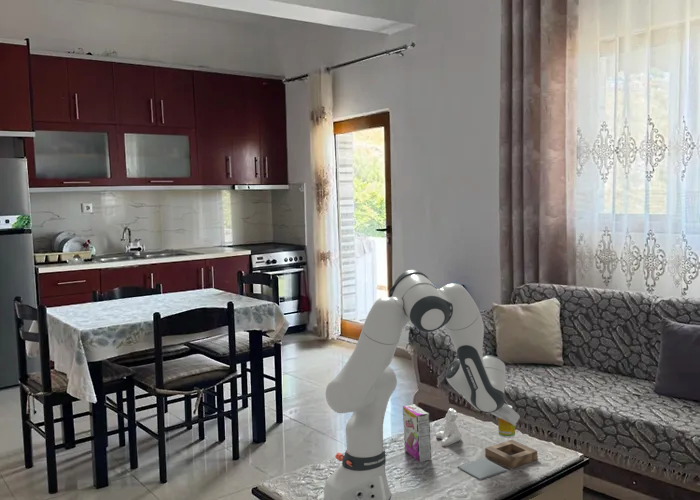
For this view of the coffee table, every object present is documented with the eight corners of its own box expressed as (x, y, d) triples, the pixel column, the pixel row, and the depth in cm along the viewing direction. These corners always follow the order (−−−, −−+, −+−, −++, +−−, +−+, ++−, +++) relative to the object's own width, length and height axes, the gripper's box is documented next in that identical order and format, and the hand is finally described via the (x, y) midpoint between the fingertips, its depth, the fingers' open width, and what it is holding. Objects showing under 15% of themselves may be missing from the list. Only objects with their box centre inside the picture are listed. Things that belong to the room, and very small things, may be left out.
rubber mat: (479, 480, 207) (479, 478, 207) (457, 467, 217) (457, 466, 217) (506, 471, 212) (506, 469, 212) (483, 459, 222) (483, 458, 222)
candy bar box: (403, 451, 232) (401, 405, 230) (416, 448, 234) (414, 403, 232) (418, 463, 222) (416, 415, 220) (432, 460, 224) (430, 413, 222)
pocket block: (510, 468, 214) (509, 459, 214) (485, 456, 224) (485, 447, 224) (537, 459, 220) (537, 450, 219) (512, 448, 230) (511, 439, 230)
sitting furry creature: (434, 437, 243) (433, 405, 242) (457, 434, 245) (455, 403, 244) (442, 447, 234) (441, 414, 233) (465, 444, 236) (464, 411, 234)
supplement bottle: (515, 438, 217) (514, 409, 216) (498, 437, 219) (498, 409, 218) (514, 432, 223) (514, 404, 222) (498, 431, 224) (497, 403, 223)
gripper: (507, 397, 207) (533, 422, 212) (470, 380, 225) (495, 403, 230) (496, 414, 205) (522, 438, 210) (459, 395, 224) (484, 418, 229)
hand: (508, 420), depth 220 cm, fingers closed on supplement bottle, 5 cm apart
